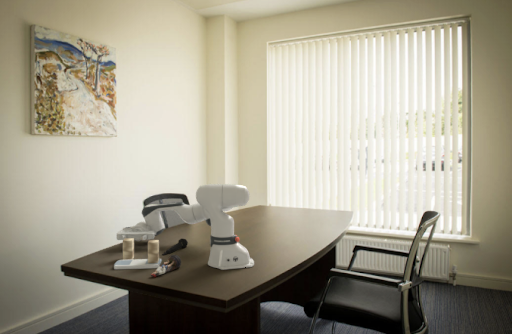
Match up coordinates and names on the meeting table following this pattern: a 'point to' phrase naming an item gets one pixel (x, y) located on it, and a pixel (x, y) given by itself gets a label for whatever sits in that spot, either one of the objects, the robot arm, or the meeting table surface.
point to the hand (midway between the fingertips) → (133, 238)
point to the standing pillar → (153, 251)
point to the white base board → (136, 264)
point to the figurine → (172, 263)
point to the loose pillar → (128, 248)
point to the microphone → (177, 246)
